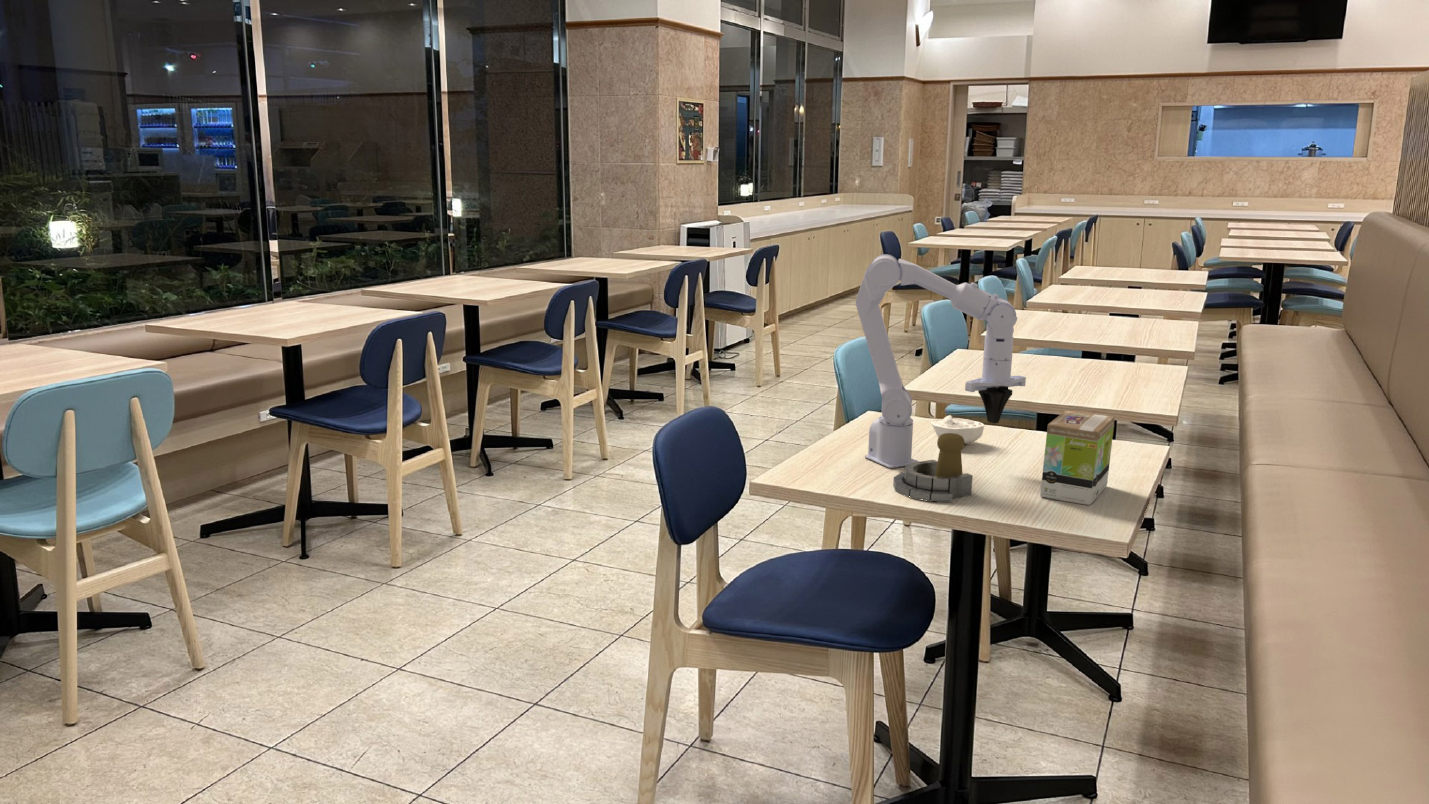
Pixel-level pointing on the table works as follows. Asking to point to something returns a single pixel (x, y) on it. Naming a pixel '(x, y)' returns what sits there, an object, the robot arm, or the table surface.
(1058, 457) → the tea box
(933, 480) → the hub collar
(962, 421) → the cell model
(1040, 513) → the table surface
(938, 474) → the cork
